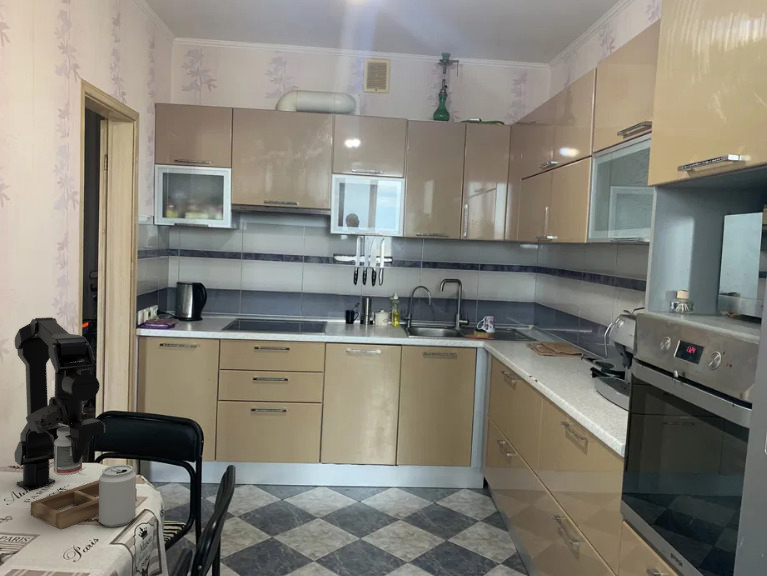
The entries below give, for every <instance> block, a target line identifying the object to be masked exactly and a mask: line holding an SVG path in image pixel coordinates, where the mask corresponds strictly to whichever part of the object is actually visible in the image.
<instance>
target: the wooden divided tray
mask: <svg viewBox="0 0 767 576" xmlns="http://www.w3.org/2000/svg"><path fill="white" fill-rule="evenodd" d="M137 491H138V489H137V487H136V494H137ZM97 496H98V497H97ZM72 505H75V506H73V507H70V508H67V509H65V510H62V511H59V510H61V509H64V508H66V507H69V506H72ZM30 516H31V517H33V518H36V519H37V520H38V519H39V520H40V521H42V522H45V523H46V524H48V525H51V526H53V527H54V528H57V529H59V530H63V529H66V528H68V527H71V526H73V525H74V526H75V525H76V524H79V523H81V522H84V521H86V520H90V519H92V518H95V517H97V516H99V479H97V480H95V481H92V482H91V481H90V482H88V483H85V484H82V485H78V486H76V487H74V488H70V489H67V490H64V491H60V492H58V493H55V494H52V495H48V496H46V497H42V498H39V499H37V500H33V501H30Z"/></svg>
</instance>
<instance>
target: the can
mask: <svg viewBox="0 0 767 576" xmlns="http://www.w3.org/2000/svg"><path fill="white" fill-rule="evenodd" d="M98 480H99V495H98V498H99V515H98V522H99V523H101V524H102V525H103V526H104V527H107V528H118V527H122V526H125V525H127V524H129V523H130V522H131V521H132V520H133V519H134V518H135V517H136V507H137V506H136V504H137V493H136V488H137V473H136V472H135V471H134V467H133V466H132V465H129V464H115V465H110V466H107V467H105V468H103V470H102V473H101V474H100V476H99V478H98Z"/></svg>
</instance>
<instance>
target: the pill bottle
mask: <svg viewBox="0 0 767 576" xmlns="http://www.w3.org/2000/svg"><path fill="white" fill-rule="evenodd" d="M67 435H71V434H70V428H69V427H66V426H64V427H60V428H58V429H57V436H58V438H57V439H56V440H55V442H54V459H53V472H54V474H56V476H57V475H58V476H70V475H74V474H77V473H79V472H81V471H82V469H83V456H82V457H81V459H80V461H79V462H78V463H73V457H72V448H71V441H70V440H68V439H67V438H66V437H65V436H67Z"/></svg>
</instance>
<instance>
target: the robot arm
mask: <svg viewBox="0 0 767 576" xmlns="http://www.w3.org/2000/svg"><path fill="white" fill-rule="evenodd" d="M14 348H15V349H16V351H17V356H18V357H19V359H20V360H21V361H22V363H23V364H24V365H25V389H26V391H25V392H26V417H25V420H26V424H25V426H24V427H23V429H22V431H21V432H20V441H19V442H18V443H17V446H16V448H15V451H14V461H15V463H16V464H17V465H18V466H19V467H22V480H20V481H17V482H16V485H17V486H19V487H21V488H24V489H26V490H29V491H31V490H36V489H38V488H41V487H44V486H48V485H51V484H54V483H56V480H55V479H53V478H50V460H54V442H55V440H56V439H57V438H58V436H57V429H58V428H60V427H64V426H66V427H69V428H70V434H71V435H67V436H65V437H66V438H67V439H68V440H70V441H71V448H72V457H73V463H78V462H79V461H80V459H81V457H82V458H83V455H84V453H85V452H86V449H87V448H88V446H89V444H90V442H91V440H93V438H94V437H95V436H97V435H101V434H105V433H106V423H105V422H103V420H100V419H96V418H93V417H92V418H88V412H87V413H85V412H84V402H85V401H89V400H92V399H93V398H94V397H96V396H97V395H98V392H99V390H100V385H101V384H100V382H99V379H98V378H97V377H96V376H95V375H93V374H91V369H94V368H95V366H96V365H95V362H96V358H95V355H94V352H93V349H92V347H91V345H90V343H89V341H88V340H87V339H86V337H85V336H83V335H81V334H75V333H74V334H73V333H69V332H68V331H67V329H66V330H65V329H64V328H63V327H62V326H61V325H60V324H59V323H58V321H57V319H56V318H55V317H52V316H51V317H35V318H34V319H33V318H32V319H31V321H30V322H29V323H28V324H25V325H24V326H22V327H21V328H19V329H18V331H17V333H16V335H15V337H14ZM49 360H50V362H51V365H52V366H53V367H52V368H53V370H54V396H51V397H50V398H49V400H48V378H47V377H48V375H47V374H48V373H47V365H48V364H47V363H48V362H49Z"/></svg>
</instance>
